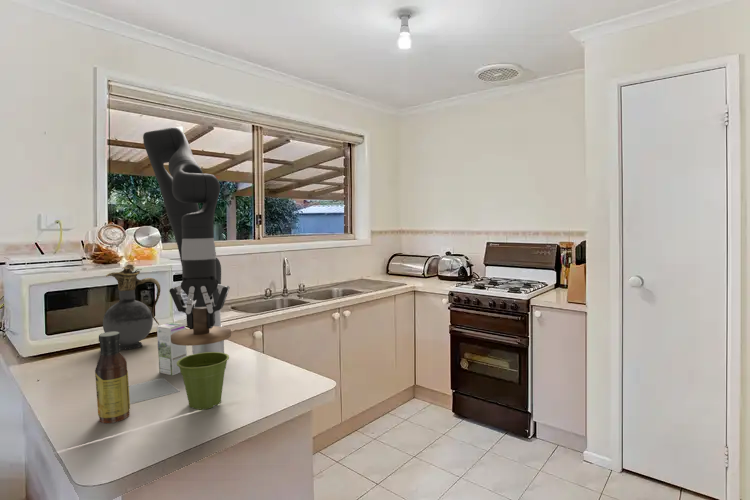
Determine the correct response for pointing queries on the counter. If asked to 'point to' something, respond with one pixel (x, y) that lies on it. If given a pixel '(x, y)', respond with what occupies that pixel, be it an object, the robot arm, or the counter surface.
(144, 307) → the pitcher
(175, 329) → the syrup box
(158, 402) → the counter surface
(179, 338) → the walnut lid
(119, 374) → the sauce bottle
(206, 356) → the plant pot
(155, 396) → the rubber mat
